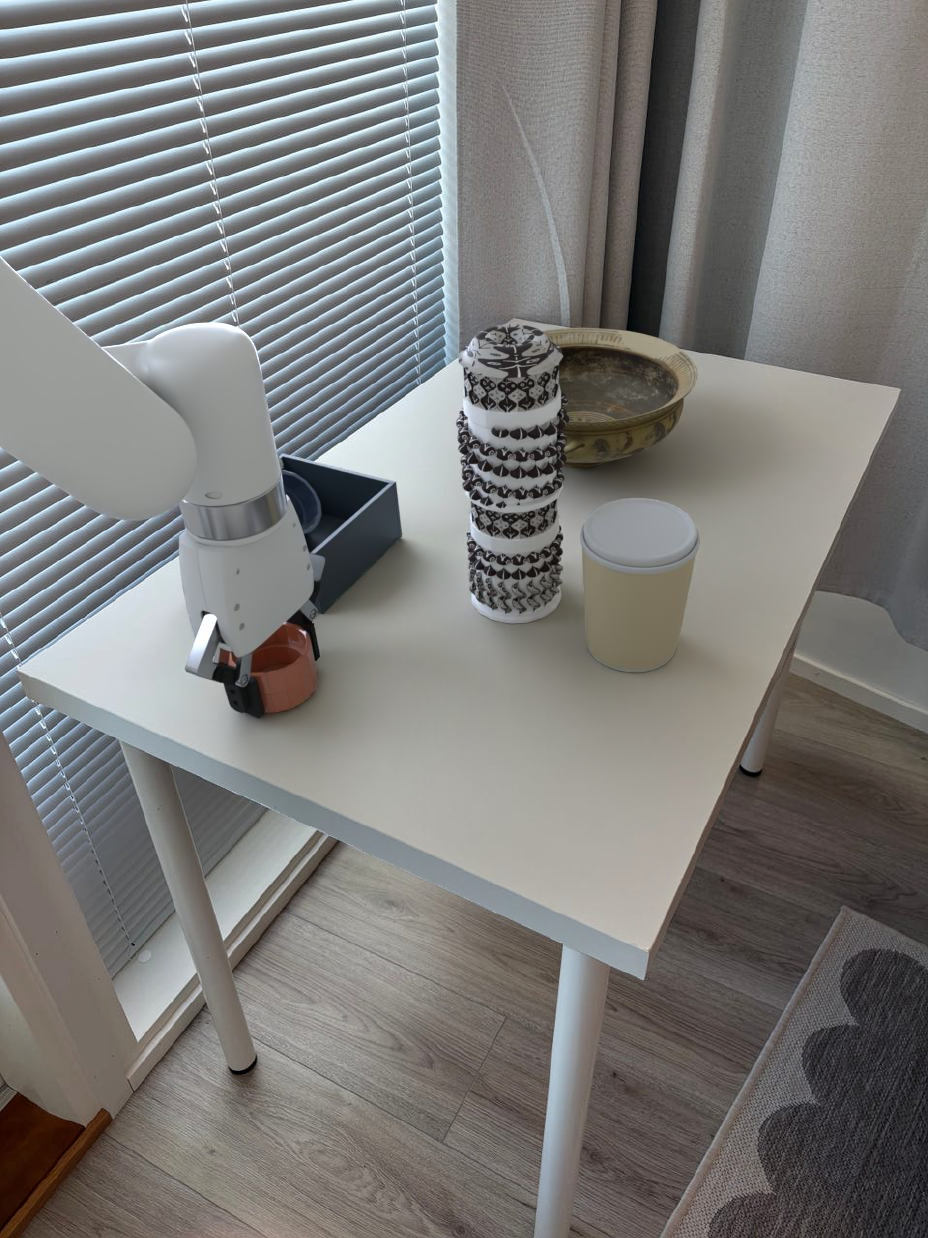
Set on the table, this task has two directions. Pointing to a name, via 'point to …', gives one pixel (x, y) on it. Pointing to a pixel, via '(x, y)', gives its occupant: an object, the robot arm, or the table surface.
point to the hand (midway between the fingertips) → (276, 681)
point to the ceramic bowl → (619, 391)
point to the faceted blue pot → (302, 501)
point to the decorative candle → (513, 471)
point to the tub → (347, 523)
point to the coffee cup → (636, 581)
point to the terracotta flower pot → (284, 668)
